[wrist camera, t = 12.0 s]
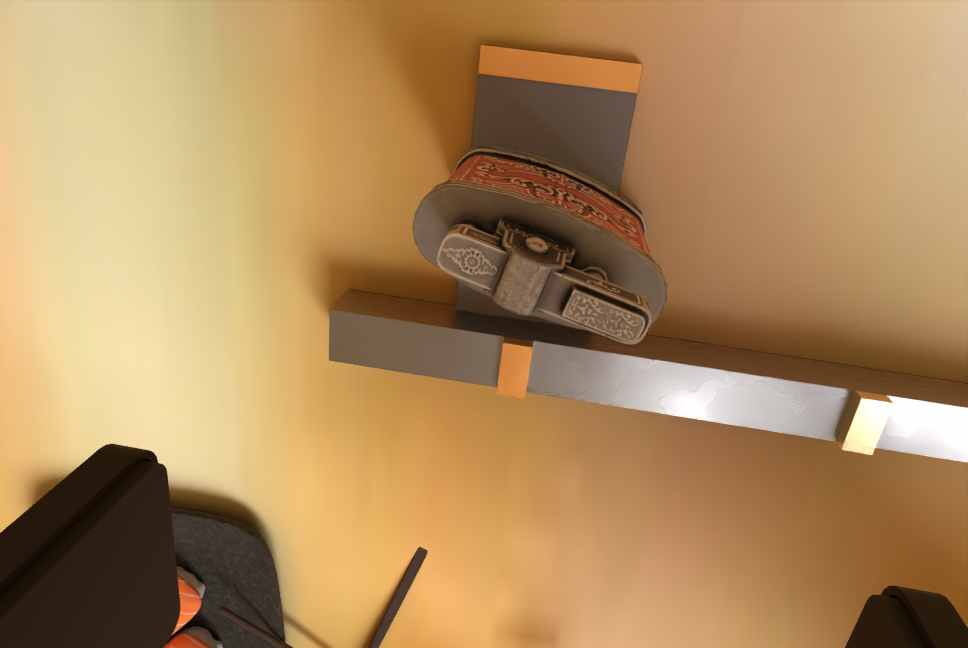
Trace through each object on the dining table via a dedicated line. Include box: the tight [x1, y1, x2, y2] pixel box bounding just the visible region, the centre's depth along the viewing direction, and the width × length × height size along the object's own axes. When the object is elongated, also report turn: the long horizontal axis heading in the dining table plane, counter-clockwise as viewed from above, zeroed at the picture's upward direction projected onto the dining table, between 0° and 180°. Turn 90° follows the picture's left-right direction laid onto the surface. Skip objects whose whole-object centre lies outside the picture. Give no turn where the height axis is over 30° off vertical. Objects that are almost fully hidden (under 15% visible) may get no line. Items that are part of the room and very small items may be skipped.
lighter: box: [413, 146, 667, 345], centre depth 22 cm, size 8×3×10 cm, turn 70°
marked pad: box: [455, 45, 643, 327], centre depth 27 cm, size 6×11×1 cm, turn 174°
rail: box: [329, 290, 968, 463], centre depth 28 cm, size 30×2×3 cm, turn 84°
